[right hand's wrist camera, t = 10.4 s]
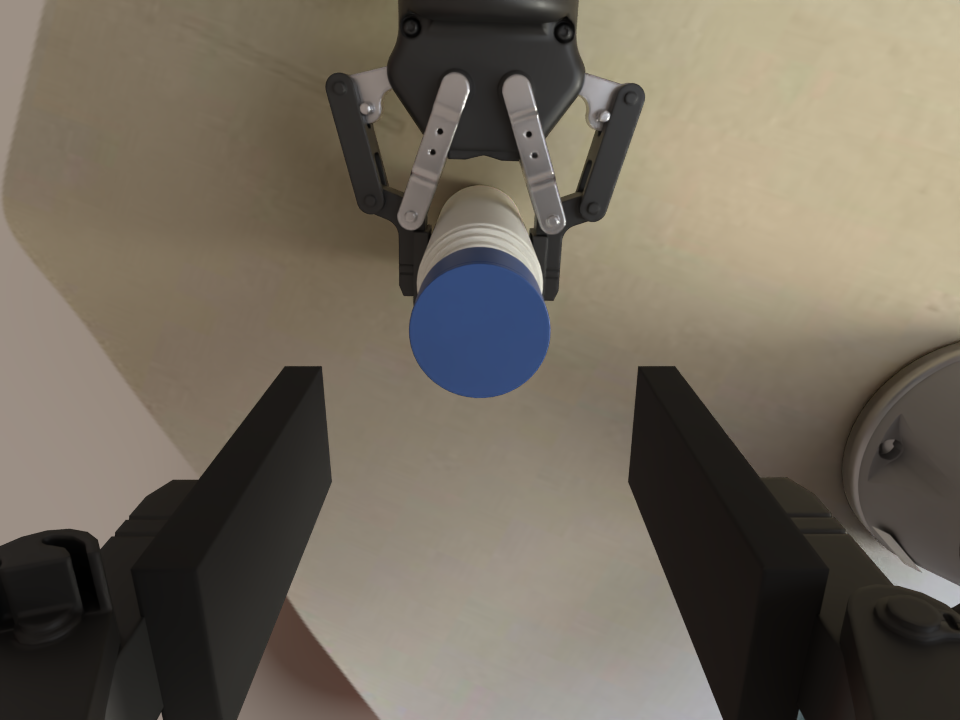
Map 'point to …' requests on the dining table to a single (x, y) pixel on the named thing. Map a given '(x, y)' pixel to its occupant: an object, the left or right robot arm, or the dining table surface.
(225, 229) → the dining table surface
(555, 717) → the dining table surface
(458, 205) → the bottle
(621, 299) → the dining table surface
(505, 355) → the cap
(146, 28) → the dining table surface
